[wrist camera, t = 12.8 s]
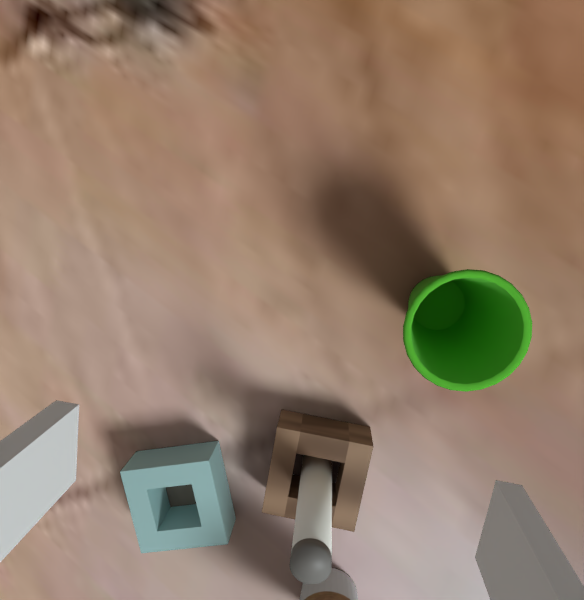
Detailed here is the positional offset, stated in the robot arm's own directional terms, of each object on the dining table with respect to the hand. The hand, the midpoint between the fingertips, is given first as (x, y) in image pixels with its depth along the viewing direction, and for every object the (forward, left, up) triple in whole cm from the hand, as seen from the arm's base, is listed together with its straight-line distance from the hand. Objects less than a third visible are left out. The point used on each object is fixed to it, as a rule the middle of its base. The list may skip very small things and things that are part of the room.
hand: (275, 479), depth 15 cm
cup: (-1, +11, -32) cm, 34 cm away
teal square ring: (+23, -10, -32) cm, 40 cm away
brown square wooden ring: (+17, +3, -32) cm, 36 cm away
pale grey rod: (+17, +3, -32) cm, 36 cm away
